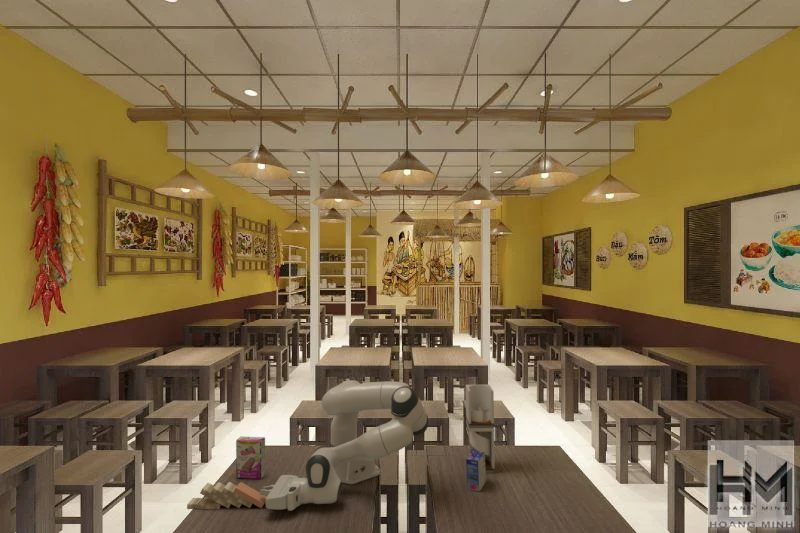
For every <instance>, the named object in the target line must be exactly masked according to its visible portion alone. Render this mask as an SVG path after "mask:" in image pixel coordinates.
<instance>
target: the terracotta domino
mask: <svg viewBox="0 0 800 533" xmlns="http://www.w3.org/2000/svg"><path fill="white" fill-rule="evenodd" d="M236 486H237V487H236V488H235V490H234V492H233V493H235V494H237V495H238V496H240V497H242V498H244V499H245V500H247V501H249V502H251V503H253V504H252V505H254V506H256V507H258V508H260V509H263V507H264V505H266V497H267V496H266V495H260V491H258V490H256V489H254V488H253V487H251V486H249V485H247V484H245V483H244V482H241V481H240V482H239V483H238V485H236Z"/></svg>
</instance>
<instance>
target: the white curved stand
mask: <svg viewBox="0 0 800 533" xmlns="http://www.w3.org/2000/svg"><path fill="white" fill-rule="evenodd" d="M494 398H495V396H494V389H493V388H492V387H491V385H490V384H465V423H466V426H467V430H468V456H469V455H470V454H471V449H472V448H474V449H475V451H480V452H485V472H486V474H496V472H495V471H496V470H495V469H496V467H495V466H496V465H495V461H496V460H495V421H494V420H495V413H494V412H495V411H494V410H495V409H494V408H495V407H494V405H495V404H494V401H495V400H494ZM473 451H474V450H473Z"/></svg>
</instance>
